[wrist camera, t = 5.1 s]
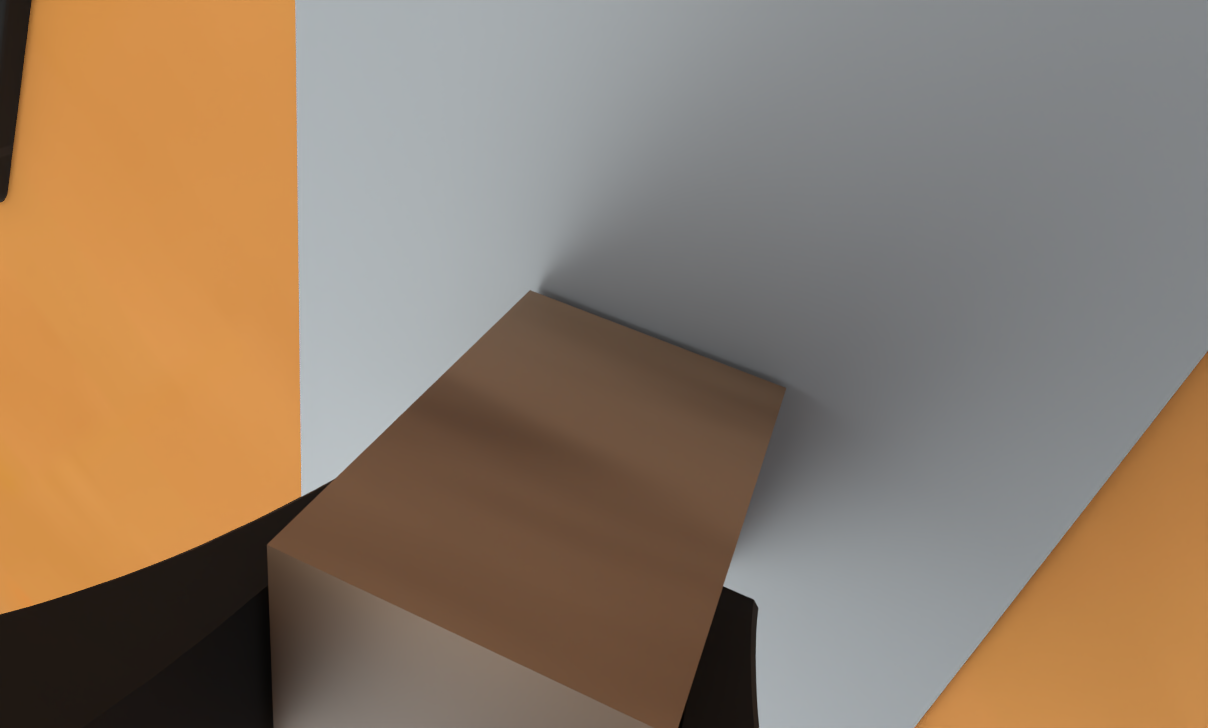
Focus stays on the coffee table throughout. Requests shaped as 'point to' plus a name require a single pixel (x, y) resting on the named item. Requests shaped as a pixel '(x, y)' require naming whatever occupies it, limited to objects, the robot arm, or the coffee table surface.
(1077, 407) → the slate board
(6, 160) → the cell phone
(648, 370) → the walnut block
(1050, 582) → the coffee table surface
